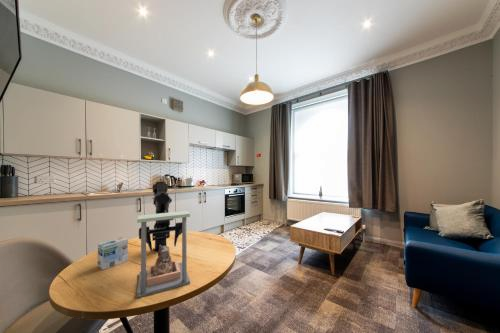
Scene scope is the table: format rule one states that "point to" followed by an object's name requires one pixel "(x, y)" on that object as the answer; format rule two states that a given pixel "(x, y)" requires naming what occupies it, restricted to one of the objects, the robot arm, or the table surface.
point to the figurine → (163, 262)
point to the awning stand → (146, 277)
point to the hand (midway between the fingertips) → (163, 248)
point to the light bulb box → (112, 253)
